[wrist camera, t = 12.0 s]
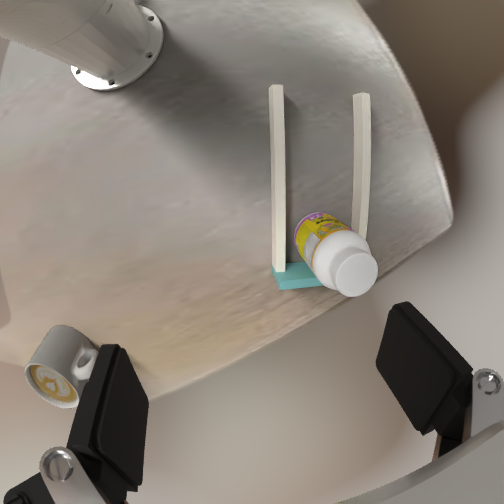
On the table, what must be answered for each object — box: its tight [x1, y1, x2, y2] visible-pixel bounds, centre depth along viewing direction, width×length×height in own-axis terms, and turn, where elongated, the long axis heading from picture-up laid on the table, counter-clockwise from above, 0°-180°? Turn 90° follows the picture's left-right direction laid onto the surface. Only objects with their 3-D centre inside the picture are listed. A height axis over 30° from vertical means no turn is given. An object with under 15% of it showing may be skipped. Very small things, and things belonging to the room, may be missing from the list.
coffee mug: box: [25, 325, 99, 409], centre depth 35 cm, size 13×10×10 cm
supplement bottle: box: [294, 212, 378, 297], centre depth 32 cm, size 7×7×13 cm
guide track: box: [268, 85, 371, 290], centre depth 33 cm, size 24×12×5 cm, turn 2°
